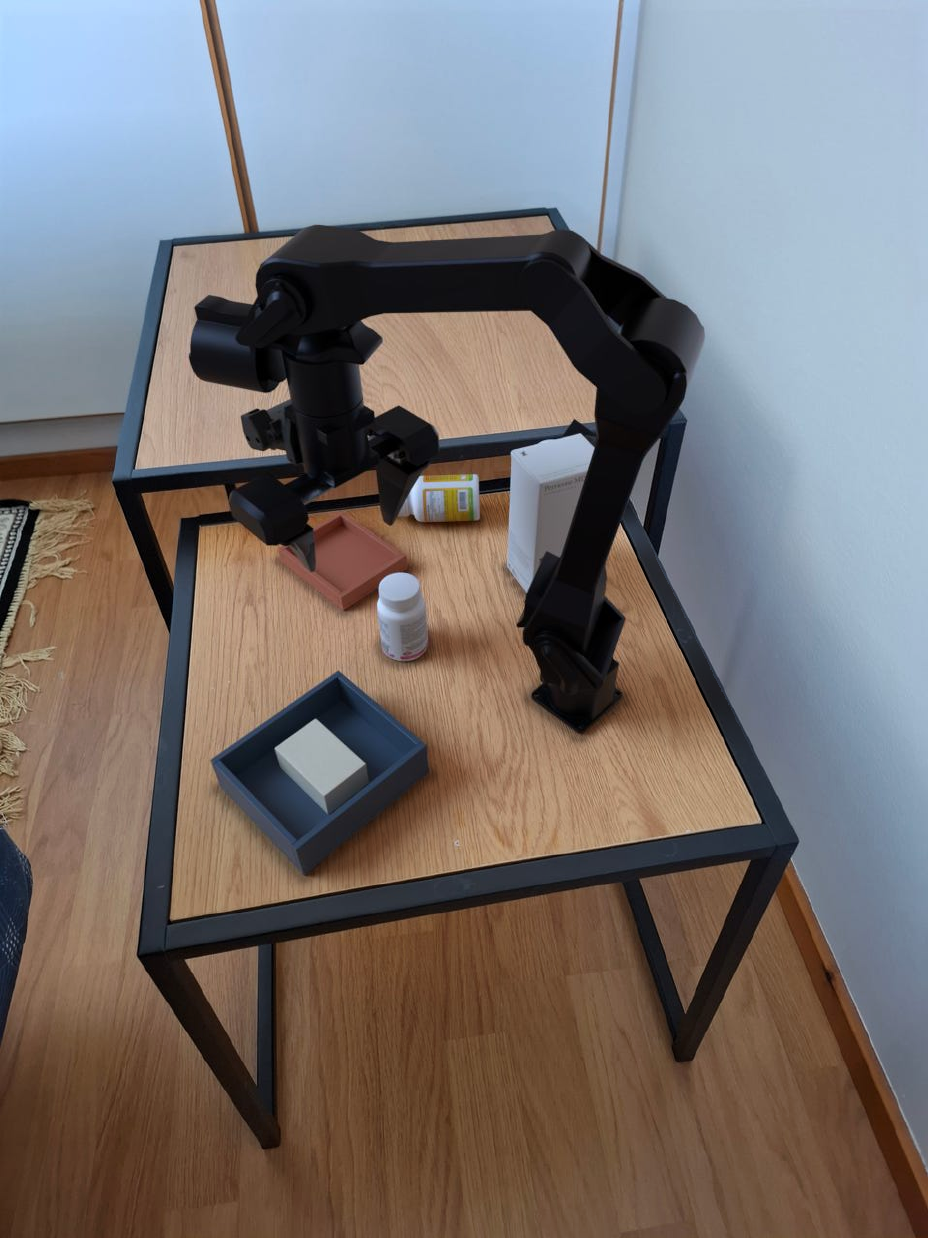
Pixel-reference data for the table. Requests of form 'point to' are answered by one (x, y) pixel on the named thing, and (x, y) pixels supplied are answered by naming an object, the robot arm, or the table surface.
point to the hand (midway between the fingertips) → (350, 545)
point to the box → (285, 805)
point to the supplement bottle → (443, 498)
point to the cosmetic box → (543, 500)
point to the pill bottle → (402, 617)
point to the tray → (346, 560)
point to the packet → (322, 766)
